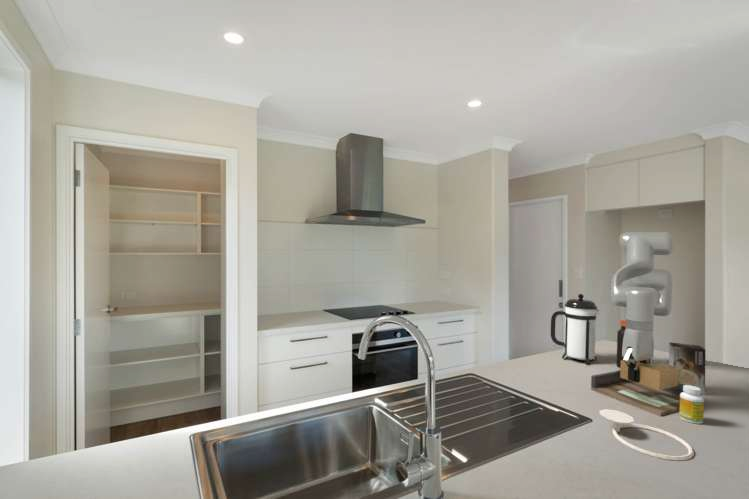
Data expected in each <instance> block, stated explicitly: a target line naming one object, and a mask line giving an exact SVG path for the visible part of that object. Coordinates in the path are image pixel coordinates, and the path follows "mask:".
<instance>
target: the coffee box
mask: <svg viewBox="0 0 749 499" xmlns="http://www.w3.org/2000/svg"><path fill="white" fill-rule="evenodd" d="M668 344H669V347H668V348H669V349H668V350H669V354H668V357H669V358H668V360H669V361H668V365H671V366H675V367H679V374H678V383H681V384H684V385H691V386H695V387H698V388H700V389H701V394H700V395H703V396H705V395H706V349H705V348H704V347H702V346H701V345H697V344H687V343H678V342H669V343H668Z"/></svg>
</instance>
